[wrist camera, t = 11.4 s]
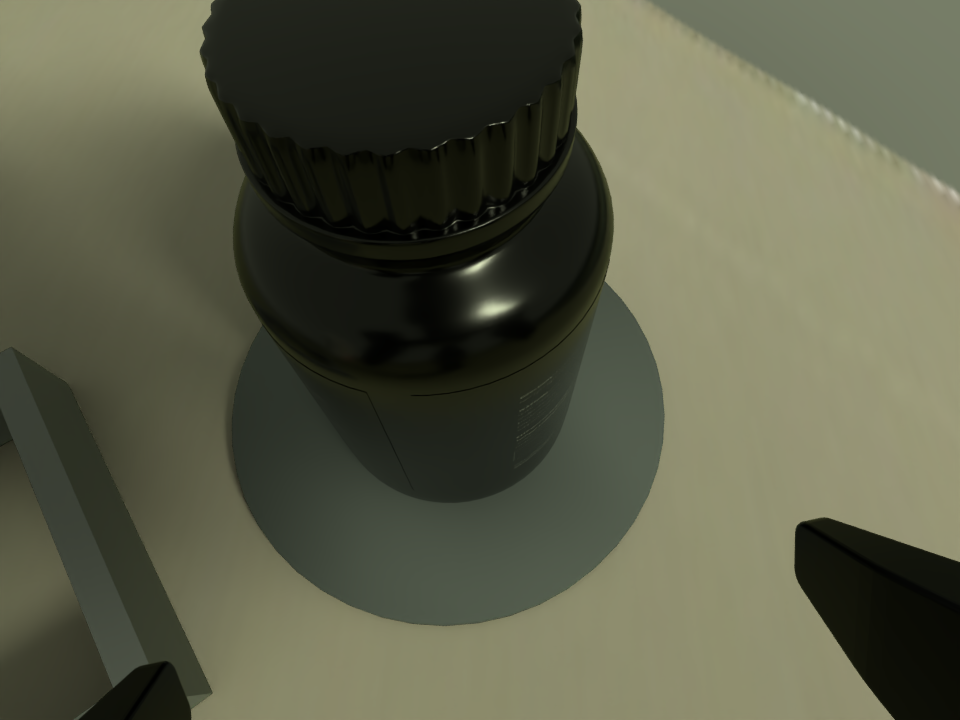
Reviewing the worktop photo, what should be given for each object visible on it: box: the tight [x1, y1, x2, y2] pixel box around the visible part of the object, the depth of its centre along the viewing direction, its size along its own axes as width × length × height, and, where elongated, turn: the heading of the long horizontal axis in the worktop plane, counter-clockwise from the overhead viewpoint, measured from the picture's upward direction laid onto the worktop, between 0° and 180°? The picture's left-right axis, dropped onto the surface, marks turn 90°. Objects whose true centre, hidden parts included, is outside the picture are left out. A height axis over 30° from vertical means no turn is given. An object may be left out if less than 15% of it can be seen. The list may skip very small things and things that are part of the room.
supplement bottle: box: [200, 0, 614, 503], centre depth 13 cm, size 7×7×12 cm
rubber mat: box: [232, 281, 664, 626], centre depth 18 cm, size 13×13×1 cm
